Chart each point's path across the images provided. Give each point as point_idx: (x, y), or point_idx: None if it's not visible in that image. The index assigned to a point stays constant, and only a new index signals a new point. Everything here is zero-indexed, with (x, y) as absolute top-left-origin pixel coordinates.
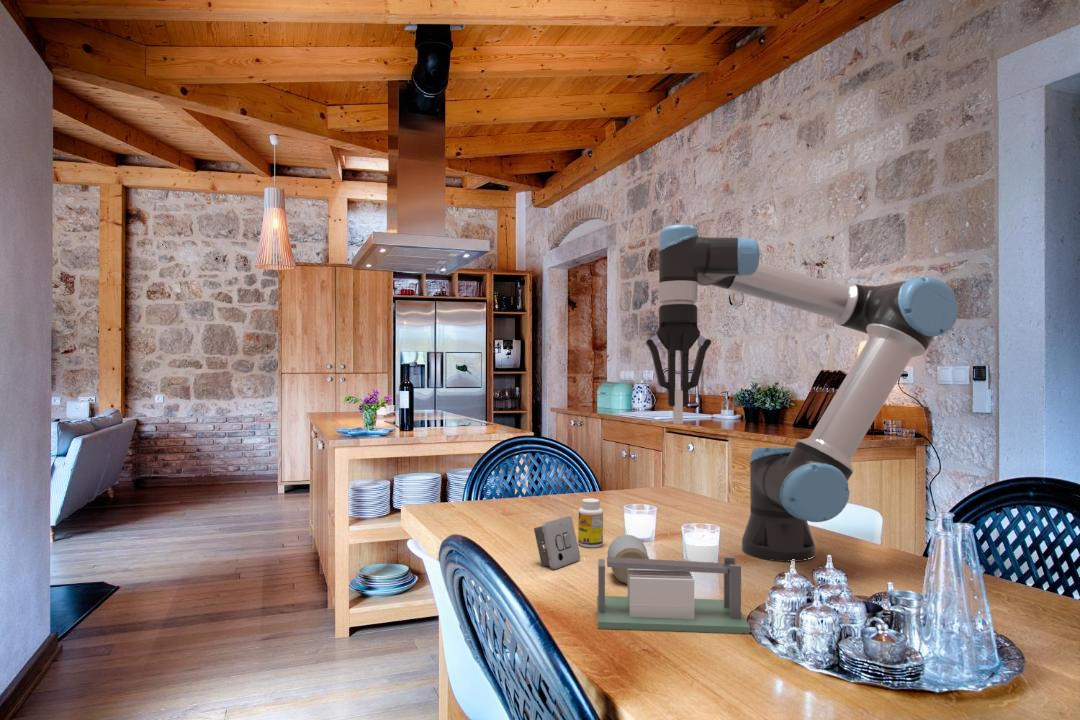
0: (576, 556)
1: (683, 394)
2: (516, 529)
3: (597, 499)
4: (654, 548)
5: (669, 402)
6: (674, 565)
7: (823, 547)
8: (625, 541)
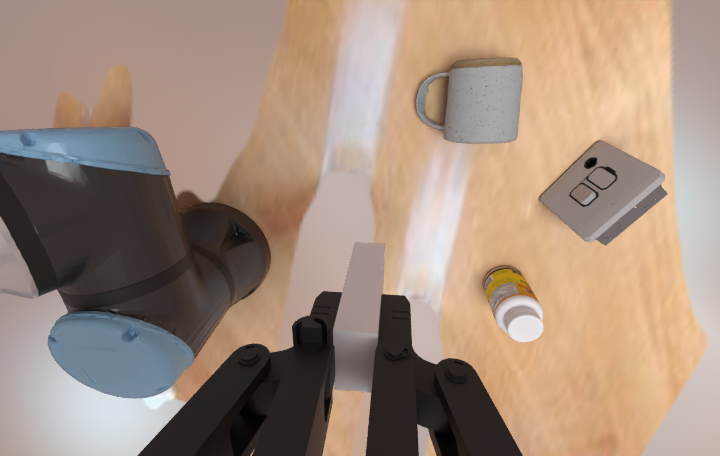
0: (550, 193)
1: (330, 330)
2: (611, 363)
3: (510, 333)
4: (402, 266)
5: (406, 307)
6: None
7: None
8: (498, 102)
